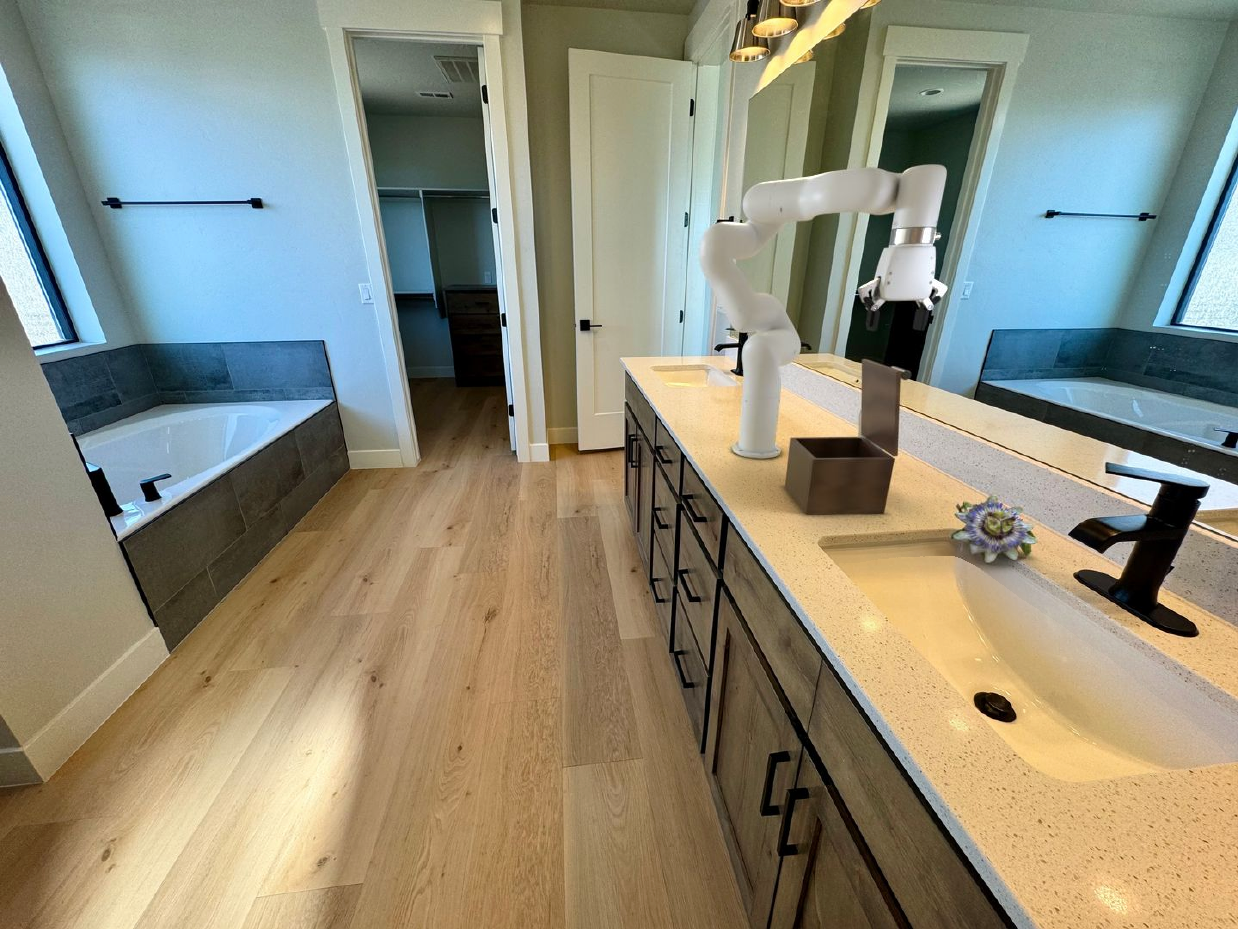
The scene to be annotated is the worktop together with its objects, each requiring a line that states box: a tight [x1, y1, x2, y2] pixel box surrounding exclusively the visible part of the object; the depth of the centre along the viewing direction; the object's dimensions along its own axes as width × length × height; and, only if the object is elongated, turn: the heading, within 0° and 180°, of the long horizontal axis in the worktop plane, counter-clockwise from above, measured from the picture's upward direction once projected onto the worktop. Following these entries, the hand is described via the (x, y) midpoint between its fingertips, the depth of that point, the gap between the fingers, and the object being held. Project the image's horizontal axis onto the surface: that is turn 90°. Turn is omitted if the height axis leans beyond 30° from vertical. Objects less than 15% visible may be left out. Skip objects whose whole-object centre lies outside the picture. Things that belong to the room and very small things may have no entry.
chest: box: [784, 436, 896, 516], centre depth 102 cm, size 16×14×12 cm
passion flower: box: [950, 493, 1038, 564], centre depth 83 cm, size 11×11×12 cm
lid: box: [860, 358, 912, 457], centre depth 97 cm, size 16×14×5 cm
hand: (894, 330), depth 102 cm, fingers open, 9 cm apart
